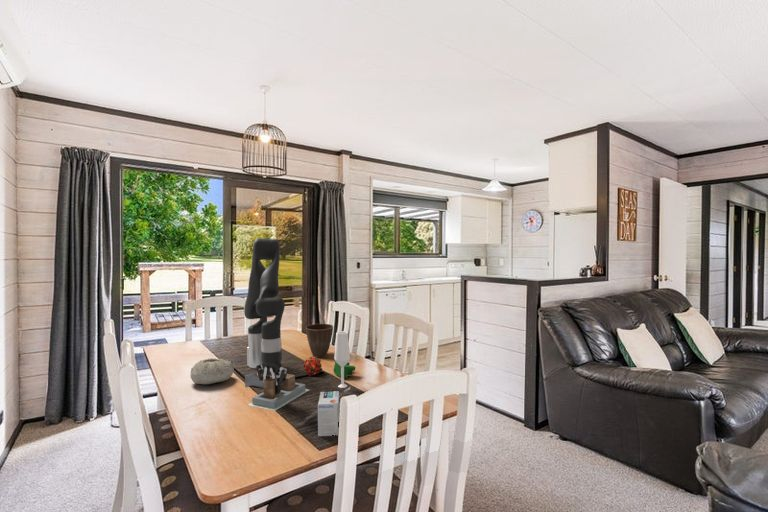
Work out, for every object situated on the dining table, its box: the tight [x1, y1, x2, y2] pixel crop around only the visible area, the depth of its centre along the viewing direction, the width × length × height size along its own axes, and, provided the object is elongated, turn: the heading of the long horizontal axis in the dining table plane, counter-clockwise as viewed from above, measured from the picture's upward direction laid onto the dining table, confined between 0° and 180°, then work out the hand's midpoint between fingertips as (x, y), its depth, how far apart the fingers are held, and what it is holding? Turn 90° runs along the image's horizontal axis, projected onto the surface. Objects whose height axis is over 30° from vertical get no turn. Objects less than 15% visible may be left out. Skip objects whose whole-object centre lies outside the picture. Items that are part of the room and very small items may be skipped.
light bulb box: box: [317, 390, 340, 437], centre depth 133 cm, size 11×7×11 cm, turn 5°
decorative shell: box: [190, 357, 235, 386], centre depth 178 cm, size 18×18×10 cm
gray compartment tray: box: [247, 382, 310, 412], centre depth 157 cm, size 13×22×4 cm, turn 156°
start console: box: [244, 369, 277, 389], centre depth 174 cm, size 10×10×5 cm
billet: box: [281, 373, 296, 391], centre depth 161 cm, size 4×4×7 cm
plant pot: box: [305, 323, 334, 358], centre depth 217 cm, size 15×15×16 cm
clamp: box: [333, 360, 356, 379], centre depth 186 cm, size 12×6×9 cm, turn 24°
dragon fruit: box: [302, 356, 323, 377], centre depth 187 cm, size 8×8×12 cm
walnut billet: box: [263, 376, 281, 400], centre depth 153 cm, size 4×4×7 cm
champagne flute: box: [333, 330, 351, 392], centre depth 168 cm, size 7×7×24 cm
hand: (272, 392), depth 153 cm, fingers closed on walnut billet, 4 cm apart
